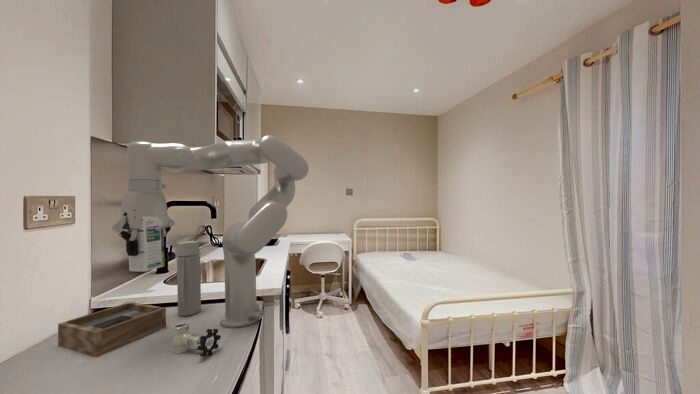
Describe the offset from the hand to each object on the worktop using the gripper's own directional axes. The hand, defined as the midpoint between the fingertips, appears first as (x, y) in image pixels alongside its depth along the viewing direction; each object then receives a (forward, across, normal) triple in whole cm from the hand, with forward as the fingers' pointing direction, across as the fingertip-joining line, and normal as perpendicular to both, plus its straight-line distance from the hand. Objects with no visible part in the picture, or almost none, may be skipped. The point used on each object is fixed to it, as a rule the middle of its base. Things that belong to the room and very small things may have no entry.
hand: (146, 252), depth 76 cm
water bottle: (+26, -20, -10) cm, 34 cm away
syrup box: (+5, 0, 0) cm, 5 cm away
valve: (+26, -2, +15) cm, 30 cm away
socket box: (+25, -1, -16) cm, 30 cm away
